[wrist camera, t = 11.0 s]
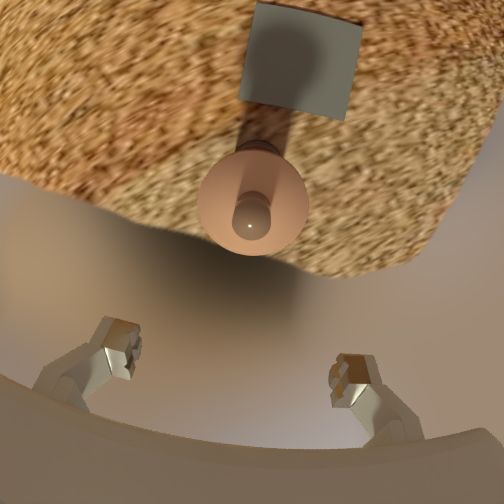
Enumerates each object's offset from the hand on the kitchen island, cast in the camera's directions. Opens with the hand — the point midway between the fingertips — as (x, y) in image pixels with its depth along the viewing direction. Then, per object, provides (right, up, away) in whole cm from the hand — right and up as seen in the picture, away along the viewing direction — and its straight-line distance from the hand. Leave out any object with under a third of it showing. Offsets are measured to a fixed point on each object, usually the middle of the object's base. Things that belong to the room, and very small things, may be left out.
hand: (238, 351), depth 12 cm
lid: (+1, +8, +14) cm, 16 cm away
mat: (+6, +27, +19) cm, 33 cm away
